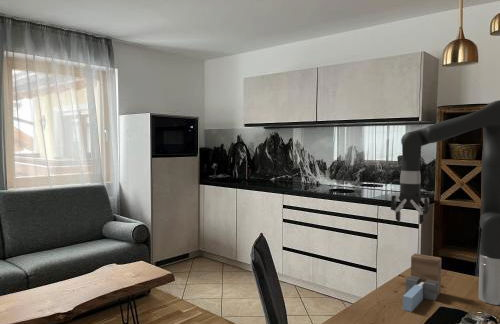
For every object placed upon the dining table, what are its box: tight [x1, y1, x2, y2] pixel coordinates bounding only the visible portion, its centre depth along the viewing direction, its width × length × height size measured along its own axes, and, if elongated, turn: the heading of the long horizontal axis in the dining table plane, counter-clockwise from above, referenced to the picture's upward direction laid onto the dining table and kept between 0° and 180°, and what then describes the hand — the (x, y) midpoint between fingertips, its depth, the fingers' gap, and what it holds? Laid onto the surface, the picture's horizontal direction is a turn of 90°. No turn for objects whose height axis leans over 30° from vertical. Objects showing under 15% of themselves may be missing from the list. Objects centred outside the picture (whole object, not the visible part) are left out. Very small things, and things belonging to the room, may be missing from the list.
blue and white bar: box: [402, 282, 424, 313], centre depth 143 cm, size 19×3×5 cm, turn 141°
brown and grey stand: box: [405, 253, 442, 302], centre depth 152 cm, size 10×11×14 cm
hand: (409, 222), depth 154 cm, fingers open, 8 cm apart
